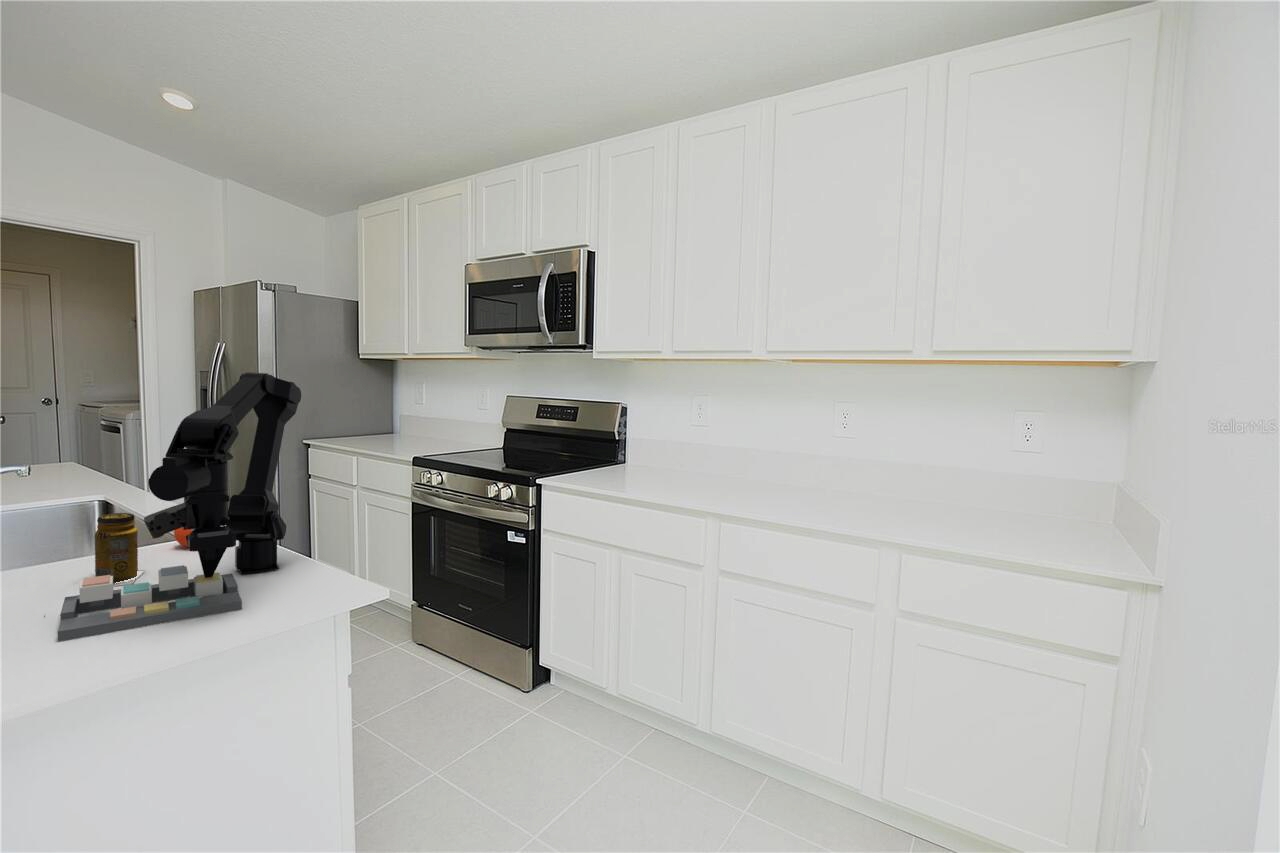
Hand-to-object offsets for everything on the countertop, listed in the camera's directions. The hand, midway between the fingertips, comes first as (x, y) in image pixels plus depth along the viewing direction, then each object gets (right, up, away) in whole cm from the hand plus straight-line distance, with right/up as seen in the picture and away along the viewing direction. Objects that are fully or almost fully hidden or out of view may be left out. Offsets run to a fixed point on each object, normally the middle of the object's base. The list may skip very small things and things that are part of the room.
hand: (208, 576), depth 104 cm
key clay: (-11, -2, -9) cm, 15 cm away
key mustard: (0, -4, 0) cm, 4 cm away
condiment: (-23, -3, +7) cm, 24 cm away
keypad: (-5, -4, -5) cm, 8 cm away
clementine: (-24, -1, +29) cm, 38 cm away
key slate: (-4, -2, -3) cm, 5 cm away
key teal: (-7, -4, -6) cm, 10 cm away
